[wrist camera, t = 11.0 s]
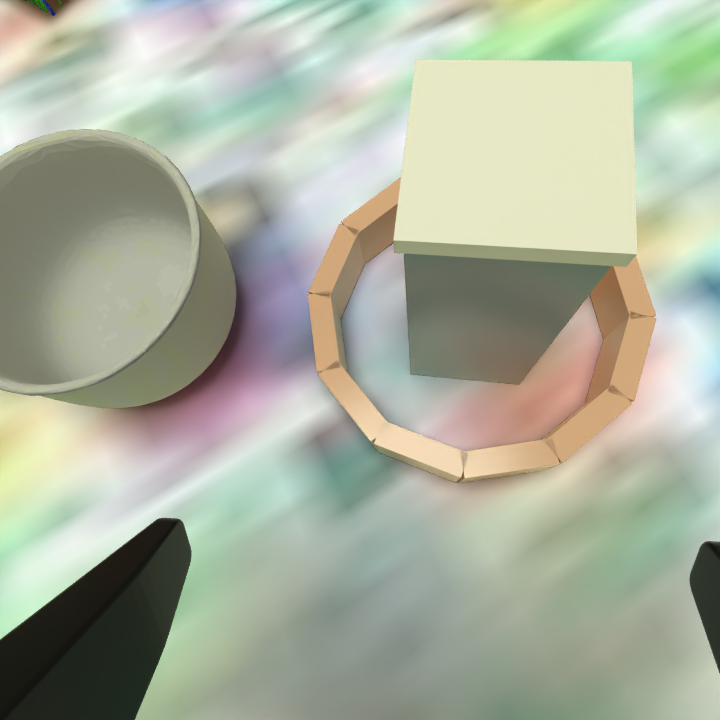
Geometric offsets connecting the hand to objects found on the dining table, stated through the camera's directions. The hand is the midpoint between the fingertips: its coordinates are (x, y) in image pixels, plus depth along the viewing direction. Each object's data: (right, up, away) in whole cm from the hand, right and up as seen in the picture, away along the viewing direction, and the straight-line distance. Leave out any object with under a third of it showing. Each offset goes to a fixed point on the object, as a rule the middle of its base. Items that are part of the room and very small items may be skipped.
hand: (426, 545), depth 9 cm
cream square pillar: (+4, +5, +15) cm, 17 cm away
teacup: (-13, +5, +18) cm, 22 cm away
